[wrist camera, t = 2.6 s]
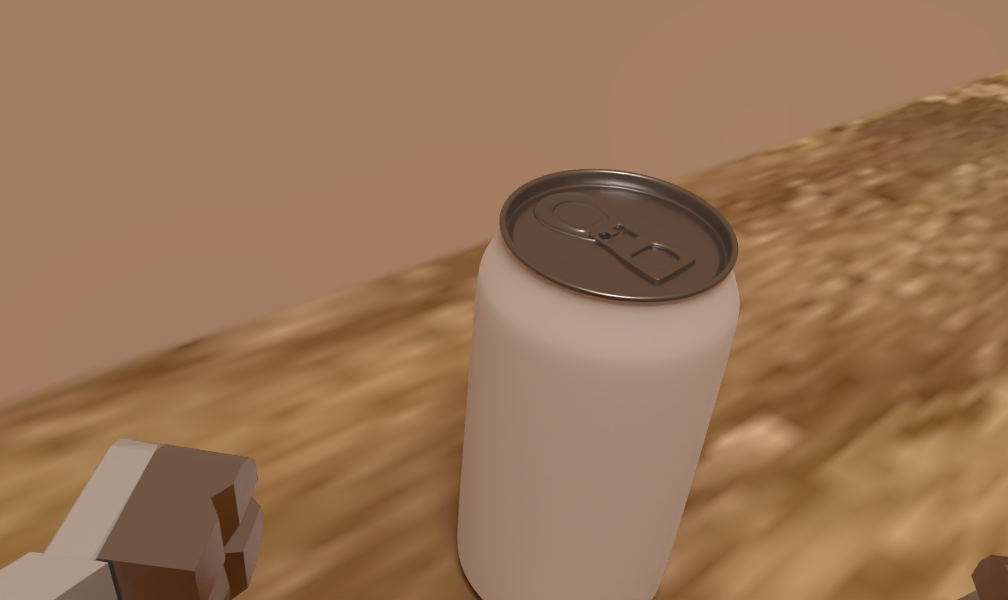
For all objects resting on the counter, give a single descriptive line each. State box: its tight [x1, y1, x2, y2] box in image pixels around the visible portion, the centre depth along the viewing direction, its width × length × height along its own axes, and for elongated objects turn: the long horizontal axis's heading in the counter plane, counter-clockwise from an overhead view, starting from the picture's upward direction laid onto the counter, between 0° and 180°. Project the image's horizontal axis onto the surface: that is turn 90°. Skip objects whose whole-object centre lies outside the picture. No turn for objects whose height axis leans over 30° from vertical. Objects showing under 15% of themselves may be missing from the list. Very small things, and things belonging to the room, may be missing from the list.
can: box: [457, 169, 740, 600], centre depth 26 cm, size 6×6×12 cm
